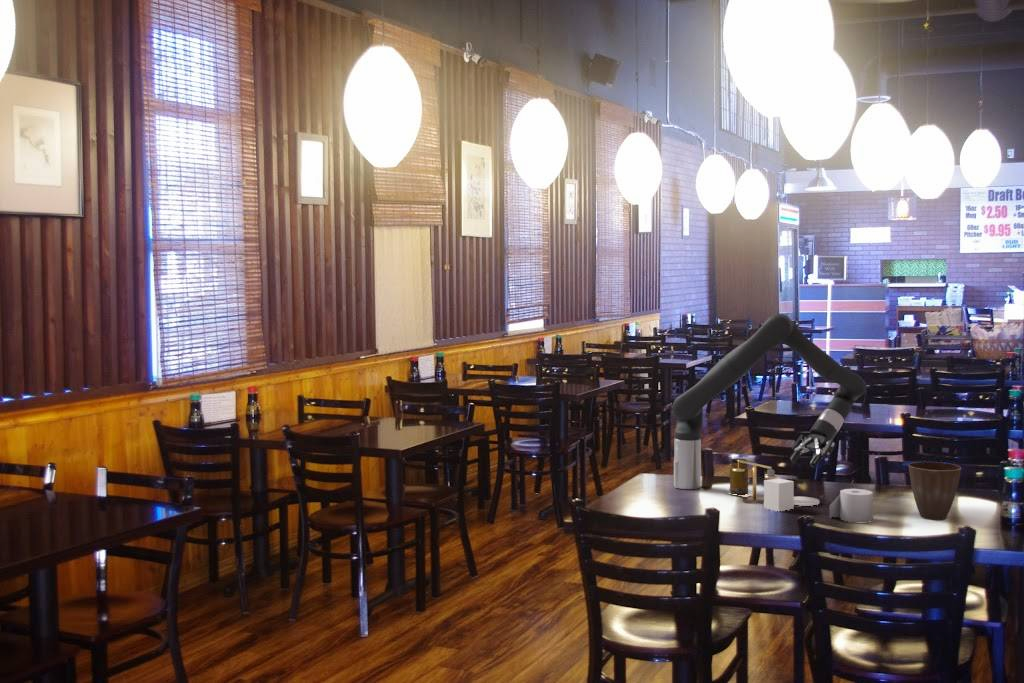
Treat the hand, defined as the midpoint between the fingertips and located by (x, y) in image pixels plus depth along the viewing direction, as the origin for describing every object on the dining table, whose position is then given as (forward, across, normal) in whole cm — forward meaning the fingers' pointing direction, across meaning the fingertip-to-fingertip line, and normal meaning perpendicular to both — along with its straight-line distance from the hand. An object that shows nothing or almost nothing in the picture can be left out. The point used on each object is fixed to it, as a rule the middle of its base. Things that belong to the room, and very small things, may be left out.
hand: (801, 463), depth 336 cm
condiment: (+13, -23, +6) cm, 27 cm away
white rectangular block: (+17, 0, +2) cm, 17 cm away
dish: (+8, -2, +11) cm, 14 cm away
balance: (+16, -12, +3) cm, 20 cm away
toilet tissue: (+11, +23, +8) cm, 27 cm away
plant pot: (-5, +34, +24) cm, 42 cm away
